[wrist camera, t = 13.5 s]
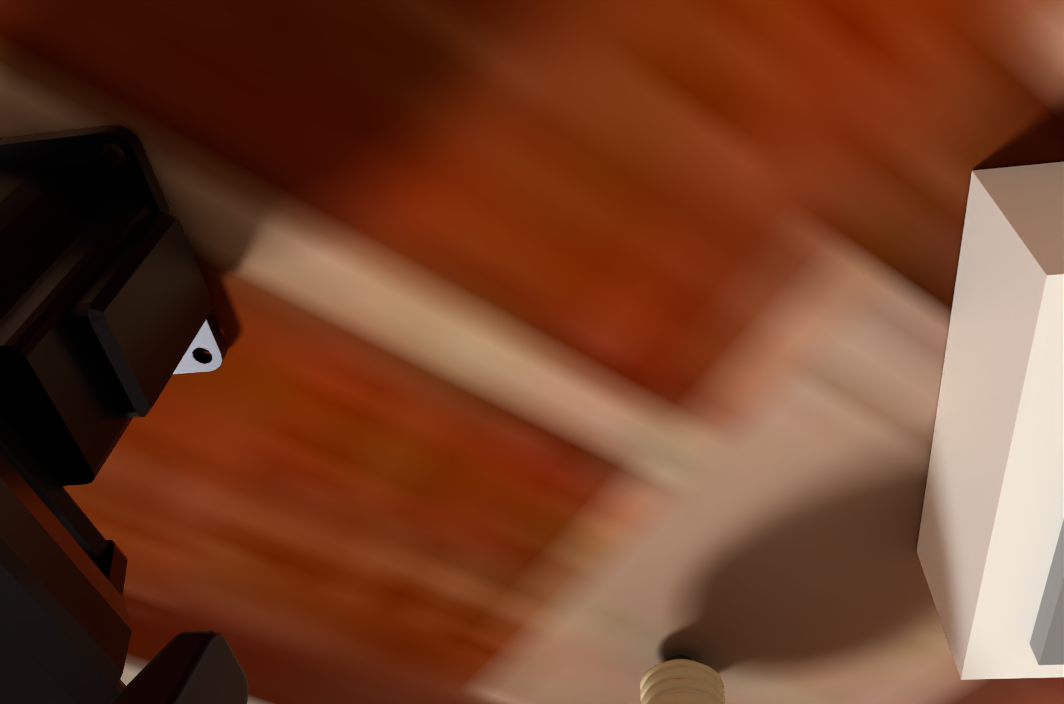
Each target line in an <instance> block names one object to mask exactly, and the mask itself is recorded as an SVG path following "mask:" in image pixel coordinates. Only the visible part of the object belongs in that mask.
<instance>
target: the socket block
mask: <svg viewBox="0 0 1064 704" xmlns="http://www.w3.org/2000/svg"><path fill="white" fill-rule="evenodd" d="M917 554H918V557H919V560H920V563H921V566H922V568H923V571H924V574H925V577H926V580H927V583H928V586H929V589H930V592H931V595H932V597H933V600H934V603H935V606H936V609H937V612H938V615H939V618H940V621H941V624H942V626H943V629H944V632H945V635H946V638H947V641H948V644H949V647H950V650H951V653H952V655H953V658H954V661H955V664H956V667H957V670H958V673H959V676H960V679H961V680H965V679H1005V678H1046V677H1064V162H1055V163H1045V164H1034V165H1024V166H1014V167H1004V168H994V169H984V170H973V171H972V175H971V182H970V189H969V195H968V202H967V209H966V216H965V223H964V230H963V237H962V243H961V250H960V257H959V264H958V271H957V278H956V285H955V291H954V298H953V305H952V312H951V319H950V326H949V333H948V339H947V346H946V353H945V360H944V367H943V374H942V380H941V387H940V394H939V401H938V408H937V415H936V422H935V428H934V435H933V442H932V449H931V456H930V463H929V470H928V476H927V483H926V490H925V497H924V504H923V511H922V518H921V524H920V531H919V538H918V545H917Z"/></svg>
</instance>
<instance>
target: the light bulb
mask: <svg viewBox="0 0 1064 704" xmlns="http://www.w3.org/2000/svg"><path fill="white" fill-rule="evenodd" d="M640 689H641V695H640V698H641V704H725V694H724V690H723V689H724V685H723V681H722V679H721V677H720V675H719V674H718V673H717V672H716V671H715V670H714V669H712V668H711V667H709V666H707V665H704V664H701V663H698V662H696V661H694V660H693V659H691V658H689V657H686V656H675V657H672V658H670V659H668V660H667V661H665V662H664V663H661V664H659V665H656V666H654V667H653V668H651V669H650V670H648V671H647V672H646V673H645V674H644V676H643V677H642V680H641V683H640Z"/></svg>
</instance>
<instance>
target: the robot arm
mask: <svg viewBox="0 0 1064 704" xmlns="http://www.w3.org/2000/svg"><path fill="white" fill-rule="evenodd" d="M109 143H112V144H115V145H117V146H119V147H120V148H121V149H122V151H123V152H124V155H125V157H120V156H118V155H116V154H115V153H114V152H113V151H112V150H111V148H110V145H109ZM213 307H214V304H213V301H212V299H211V296H210V294H209V291H208V289H207V287H206V284H205V282H204V279H203V277H202V275H201V272H200V270H199V267H198V265H197V263H196V260H195V258H194V255H193V253H192V251H191V248H190V246H189V243H188V241H187V239H186V236H185V234H184V231H183V229H182V227H181V224H180V222H179V220H178V219H177V218H176V217H175V216H174V215H173V214H172V213H171V212H170V210H169V207H168V205H167V203H166V200H165V198H164V195H163V193H162V191H161V188H160V186H159V184H158V181H157V179H156V176H155V174H154V172H153V169H152V167H151V165H150V162H149V160H148V157H147V155H146V153H145V150H144V148H143V145H142V143H141V142H140V140H139V139H138V137H137V136H136V135H135V134H134V133H133V132H131V131H130V130H129V129H127V128H124V127H122V126H116V125H109V126H100V127H92V128H84V129H75V130H67V131H59V132H50V133H42V134H34V135H25V136H17V137H8V138H0V704H247V700H248V682H247V678H246V675H245V673H244V671H243V669H242V667H241V665H240V663H239V662H238V660H237V658H236V656H235V654H234V652H233V651H232V649H231V647H230V645H229V643H228V641H227V640H226V638H225V636H224V635H223V634H222V633H220V632H219V631H216V630H203V631H186V632H182V633H180V634H179V635H177V636H176V637H174V638H173V639H172V640H171V641H170V642H169V643H168V644H167V645H166V646H165V647H164V648H163V649H162V650H161V651H160V652H159V653H158V654H157V655H156V656H155V657H154V658H153V659H152V660H151V661H150V662H149V663H148V664H147V665H146V666H145V667H144V668H143V669H142V671H141V672H140V673H139V674H138V675H137V676H136V677H135V678H134V679H133V680H132V681H131V682H130V683H129V684H128V685H127V686H126V685H125V684H124V683H123V682H122V681H121V680H120V678H121V675H122V673H123V669H124V665H125V660H126V655H127V650H128V645H129V640H130V635H131V626H130V622H129V617H128V613H127V609H126V604H125V600H124V598H123V597H122V596H123V589H124V581H125V574H126V567H127V558H126V556H125V555H124V554H123V553H122V551H121V550H120V549H119V548H118V546H117V545H116V544H115V543H114V542H113V541H112V540H105V538H104V537H103V536H102V535H101V533H100V532H99V531H98V530H97V529H96V527H95V526H94V525H93V524H92V522H91V521H90V520H89V519H88V517H87V516H86V515H85V514H84V512H83V511H82V510H81V509H80V508H79V506H78V505H77V504H76V503H75V501H74V500H73V499H72V498H71V496H70V495H69V494H68V493H67V491H66V490H65V489H64V488H63V486H67V485H81V484H88V483H91V482H92V481H93V480H94V478H95V477H96V475H97V474H98V472H99V470H100V469H101V467H102V466H103V464H104V463H105V461H106V459H107V458H108V456H109V455H110V453H111V452H112V450H113V448H114V447H115V445H116V444H117V442H118V441H119V439H120V437H121V436H122V434H123V433H124V431H125V429H126V428H127V426H128V425H129V423H130V422H131V420H132V418H136V417H145V416H146V415H147V414H148V413H149V411H150V410H151V408H152V407H153V405H154V403H155V402H156V400H157V399H158V397H159V395H160V394H161V392H162V390H163V389H164V387H165V386H166V384H167V382H168V381H169V379H170V377H171V376H172V374H181V373H194V372H207V371H212V370H216V369H217V368H218V367H219V366H220V365H221V364H222V362H223V360H224V358H225V356H226V353H227V346H226V343H225V341H224V338H223V336H222V334H221V331H220V329H219V326H218V324H217V322H216V319H215V317H214V314H213V312H212V309H213ZM199 348H205V349H206V350H208V351H209V352H210V353H211V354H206V353H204V352H202V351H201V350H200V349H199Z"/></svg>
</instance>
